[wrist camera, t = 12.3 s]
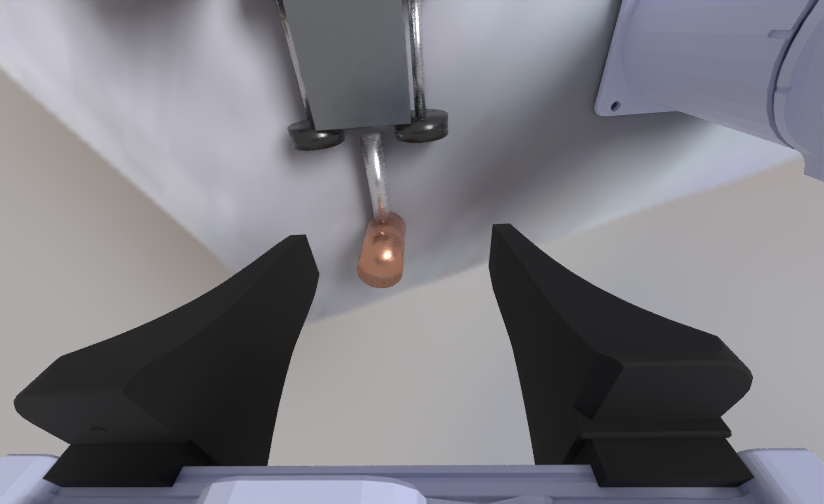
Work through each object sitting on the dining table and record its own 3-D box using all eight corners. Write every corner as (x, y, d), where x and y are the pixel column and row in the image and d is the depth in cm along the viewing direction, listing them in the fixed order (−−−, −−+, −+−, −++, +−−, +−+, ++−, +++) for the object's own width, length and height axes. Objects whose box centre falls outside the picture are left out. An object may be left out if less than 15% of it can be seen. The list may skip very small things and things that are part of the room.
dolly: (444, -61, 14) (449, -80, 11) (446, 125, 18) (450, 140, 16) (252, -39, 14) (217, -52, 12) (302, 136, 19) (285, 152, 17)
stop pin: (395, 129, 18) (388, 157, 14) (407, 242, 23) (404, 286, 19) (349, 132, 18) (330, 161, 14) (371, 243, 23) (361, 288, 19)
